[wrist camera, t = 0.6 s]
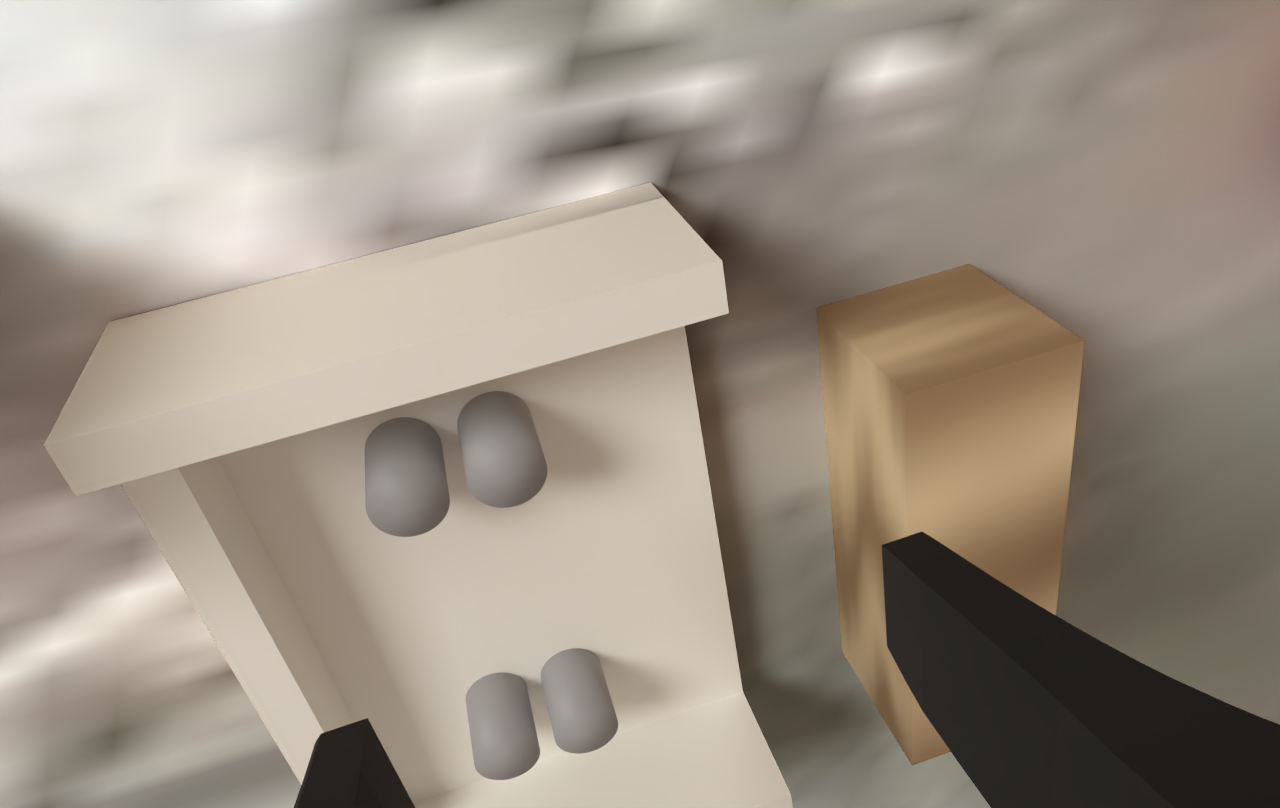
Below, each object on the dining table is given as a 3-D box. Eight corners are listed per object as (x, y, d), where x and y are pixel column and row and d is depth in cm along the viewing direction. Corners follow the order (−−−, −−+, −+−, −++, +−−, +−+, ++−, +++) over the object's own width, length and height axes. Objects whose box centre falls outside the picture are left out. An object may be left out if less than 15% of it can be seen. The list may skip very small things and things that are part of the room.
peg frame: (734, 688, 28) (793, 817, 24) (374, 810, 26) (377, 966, 23) (650, 182, 19) (722, 261, 16) (108, 322, 18) (43, 445, 14)
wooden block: (956, 606, 29) (1045, 717, 25) (839, 646, 29) (911, 765, 25) (963, 260, 23) (1084, 340, 19) (812, 304, 22) (905, 394, 18)
